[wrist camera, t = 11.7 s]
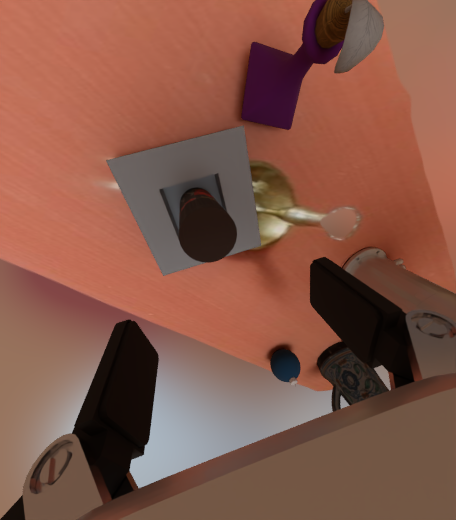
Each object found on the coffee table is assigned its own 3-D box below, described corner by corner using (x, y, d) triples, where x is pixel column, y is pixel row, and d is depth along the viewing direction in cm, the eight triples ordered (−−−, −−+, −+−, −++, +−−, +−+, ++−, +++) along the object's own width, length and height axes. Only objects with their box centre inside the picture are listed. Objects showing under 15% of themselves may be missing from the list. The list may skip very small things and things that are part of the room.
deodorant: (172, 206, 31) (165, 239, 18) (196, 179, 30) (207, 193, 17) (198, 229, 34) (210, 272, 21) (221, 205, 33) (248, 234, 20)
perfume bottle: (243, 54, 25) (349, -125, 9) (293, 70, 26) (451, -56, 11) (235, 123, 28) (301, 78, 12) (279, 132, 30) (386, 104, 14)
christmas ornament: (260, 356, 57) (274, 390, 49) (281, 339, 55) (299, 372, 47) (276, 364, 61) (291, 397, 52) (295, 348, 59) (315, 380, 51)
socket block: (235, 130, 28) (243, 125, 24) (253, 236, 37) (261, 245, 34) (116, 160, 27) (106, 160, 23) (165, 263, 36) (163, 275, 32)
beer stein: (364, 348, 69) (447, 433, 47) (324, 378, 73) (383, 469, 52) (344, 333, 61) (432, 427, 40) (301, 368, 66) (358, 469, 44)
